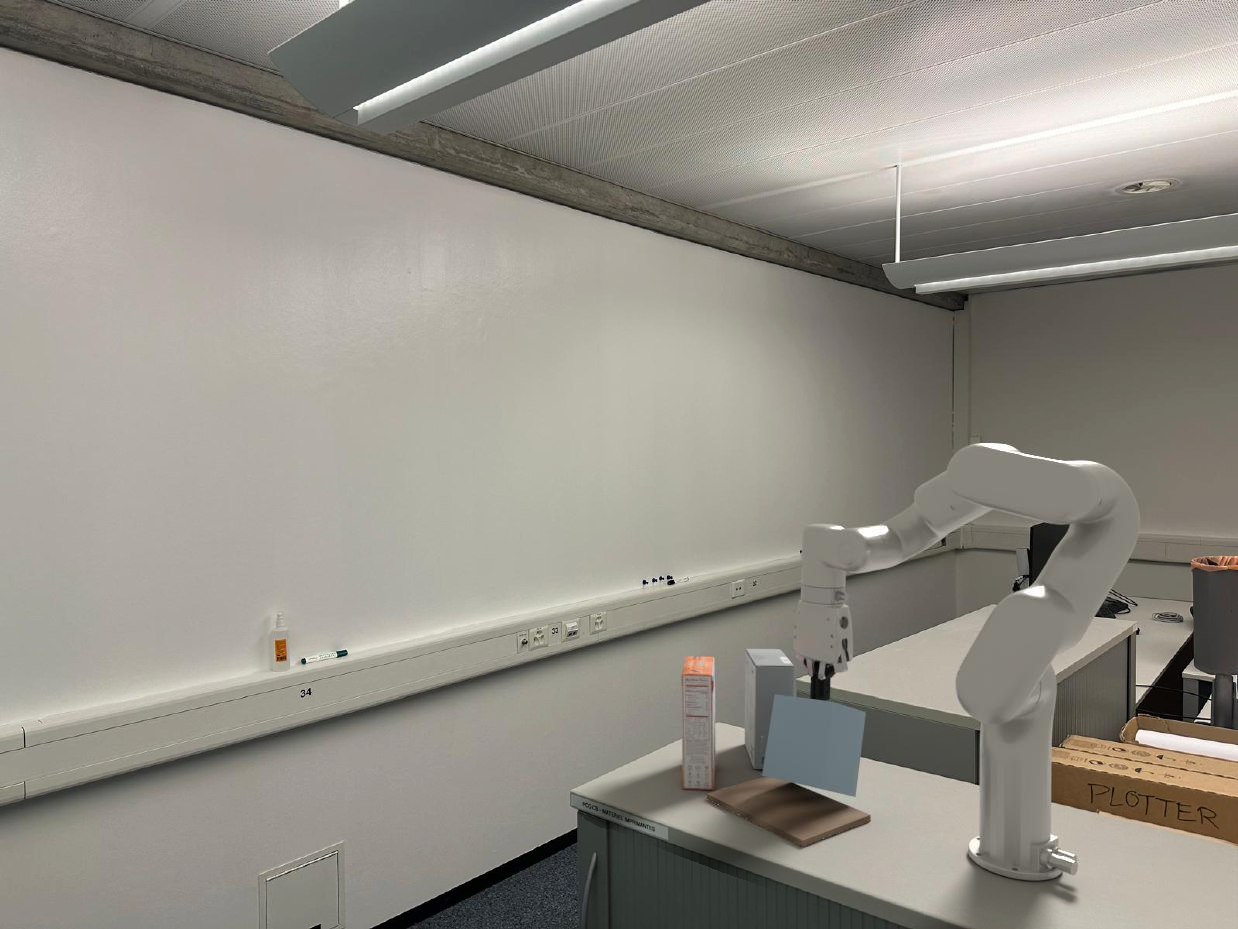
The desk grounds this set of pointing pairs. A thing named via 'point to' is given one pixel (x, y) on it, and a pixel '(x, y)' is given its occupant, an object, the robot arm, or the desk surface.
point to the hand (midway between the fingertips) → (820, 699)
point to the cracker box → (698, 723)
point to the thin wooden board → (789, 809)
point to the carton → (815, 744)
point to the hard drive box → (763, 696)
